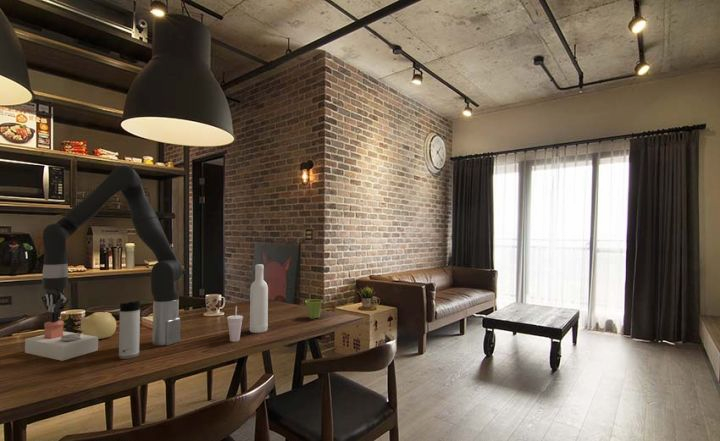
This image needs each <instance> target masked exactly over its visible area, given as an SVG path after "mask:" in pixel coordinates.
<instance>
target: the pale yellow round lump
mask: <svg viewBox="0 0 720 441" xmlns="http://www.w3.org/2000/svg"><path fill="white" fill-rule="evenodd" d="M80 324H81V325H80V330H82V333H83V335H89V336H95V337H98V340H102V339H107V338H109V337H111V336H113V335H114V334H115V332H116V329H117V320H116V318H115V317H114V316H113V315H112V313H110V312H108V311H104V312H103V311H98V312H96V311H95V312H94V313H92V314H90V315H88V316H86V317H84V318H82V319H81V320H80Z"/></svg>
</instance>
